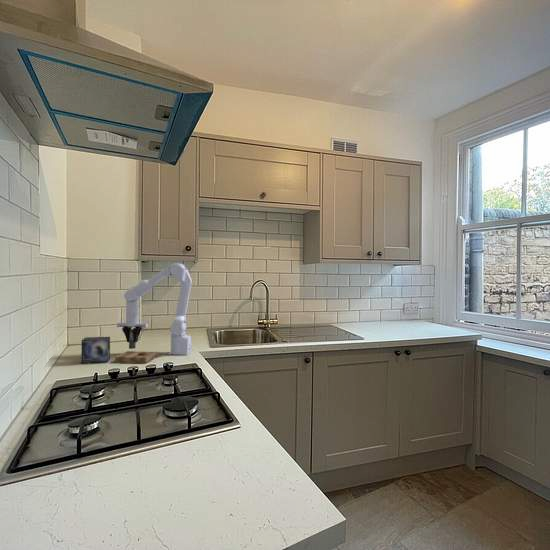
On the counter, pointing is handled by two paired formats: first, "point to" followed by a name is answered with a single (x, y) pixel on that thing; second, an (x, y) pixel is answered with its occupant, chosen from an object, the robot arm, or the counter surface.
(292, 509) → the counter surface
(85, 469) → the counter surface
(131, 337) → the peg
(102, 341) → the small box
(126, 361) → the hole block
